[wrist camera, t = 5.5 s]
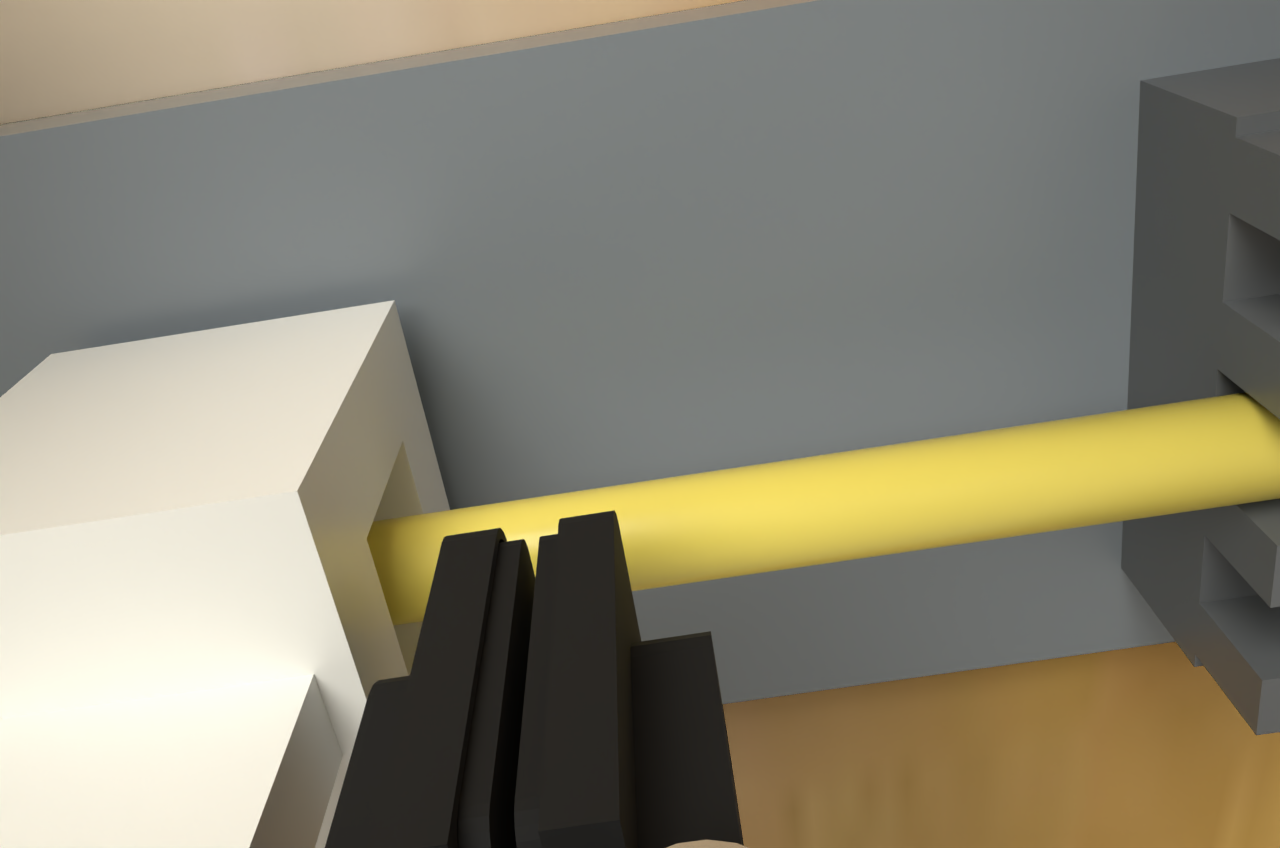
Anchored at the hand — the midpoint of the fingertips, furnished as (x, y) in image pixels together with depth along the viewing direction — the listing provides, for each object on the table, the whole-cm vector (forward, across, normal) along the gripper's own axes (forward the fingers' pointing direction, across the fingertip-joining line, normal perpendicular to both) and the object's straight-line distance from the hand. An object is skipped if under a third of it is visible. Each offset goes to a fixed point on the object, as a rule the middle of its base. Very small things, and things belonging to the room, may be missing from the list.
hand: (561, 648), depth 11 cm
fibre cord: (+2, 0, 0) cm, 2 cm away
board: (+6, +2, 0) cm, 6 cm away
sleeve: (+4, +4, 0) cm, 6 cm away
